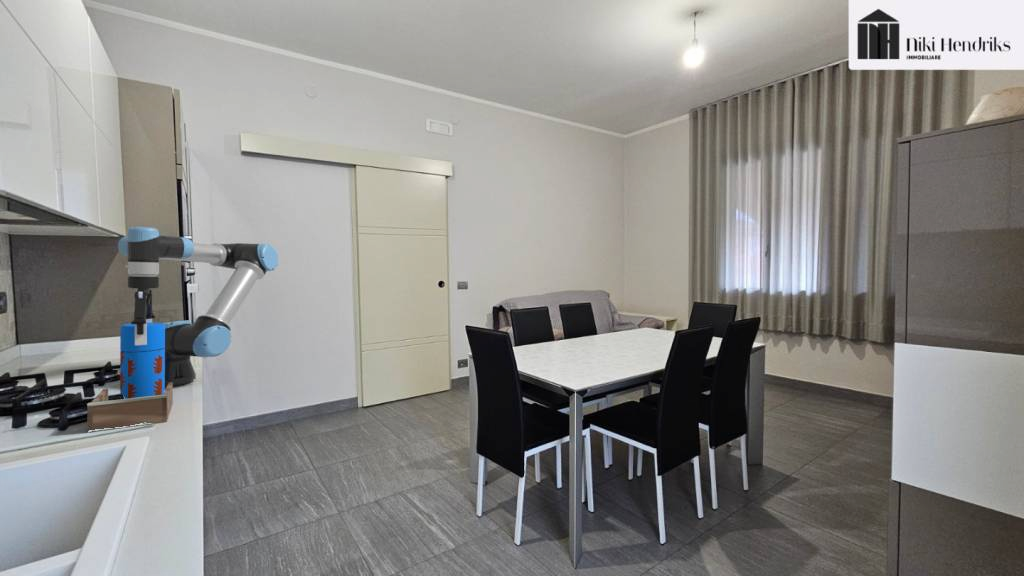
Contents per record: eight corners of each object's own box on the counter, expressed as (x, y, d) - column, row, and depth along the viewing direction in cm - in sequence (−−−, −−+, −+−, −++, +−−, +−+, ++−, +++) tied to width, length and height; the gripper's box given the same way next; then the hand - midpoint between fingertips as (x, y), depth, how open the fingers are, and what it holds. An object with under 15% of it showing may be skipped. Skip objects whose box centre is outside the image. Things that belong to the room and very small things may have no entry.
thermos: (160, 394, 143) (160, 321, 142) (168, 401, 136) (168, 325, 136) (117, 401, 135) (117, 324, 134) (123, 409, 128) (123, 327, 127)
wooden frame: (103, 412, 125) (103, 386, 125) (172, 404, 134) (172, 380, 134) (87, 432, 109) (87, 404, 109) (166, 422, 118) (166, 395, 118)
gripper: (134, 274, 142) (134, 336, 143) (120, 276, 122) (120, 348, 123) (162, 275, 147) (163, 335, 148) (154, 276, 126) (154, 346, 127)
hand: (144, 341), depth 135 cm, fingers open, 13 cm apart
